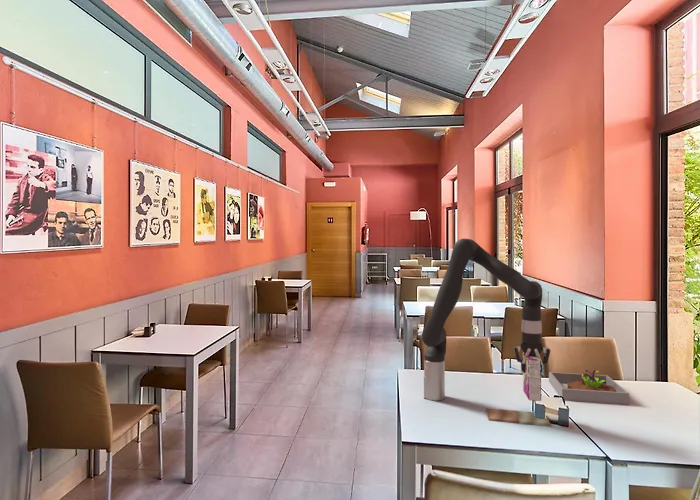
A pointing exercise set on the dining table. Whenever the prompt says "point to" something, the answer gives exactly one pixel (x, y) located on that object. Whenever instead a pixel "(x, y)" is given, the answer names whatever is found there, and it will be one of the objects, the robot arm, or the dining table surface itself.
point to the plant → (590, 383)
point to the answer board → (515, 417)
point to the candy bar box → (532, 378)
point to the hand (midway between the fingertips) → (531, 372)
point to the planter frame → (588, 395)
